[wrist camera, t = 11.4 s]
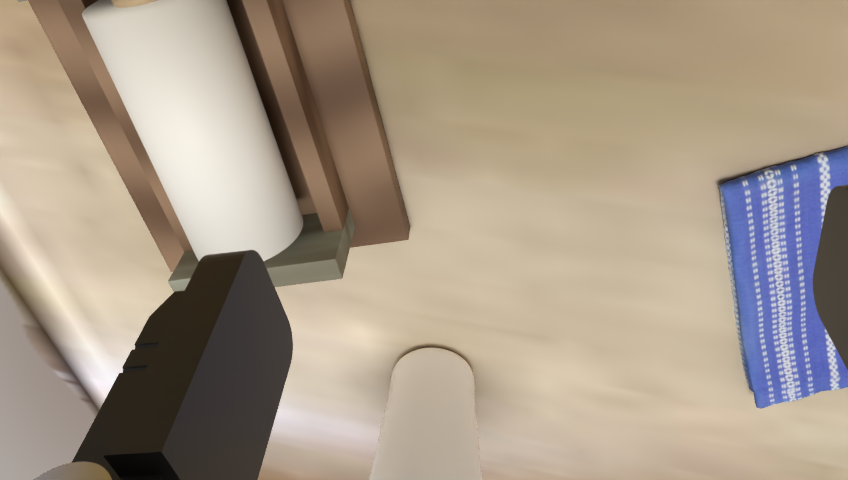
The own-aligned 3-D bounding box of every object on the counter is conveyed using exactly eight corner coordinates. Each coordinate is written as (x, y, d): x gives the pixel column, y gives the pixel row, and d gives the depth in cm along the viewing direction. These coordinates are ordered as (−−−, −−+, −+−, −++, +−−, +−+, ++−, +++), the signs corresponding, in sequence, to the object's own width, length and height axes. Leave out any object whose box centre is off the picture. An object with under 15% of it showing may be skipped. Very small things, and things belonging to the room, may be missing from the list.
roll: (113, -21, 31) (52, 21, 26) (231, -44, 30) (189, -5, 25) (216, 216, 38) (182, 280, 33) (314, 202, 37) (292, 267, 33)
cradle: (2, -84, 31) (-80, -52, 26) (307, -157, 28) (275, -135, 24) (178, 259, 41) (141, 323, 37) (410, 227, 39) (401, 292, 34)
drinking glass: (368, 390, 47) (330, 619, 35) (401, 321, 43) (372, 552, 31) (462, 418, 48) (456, 650, 36) (502, 353, 44) (512, 588, 32)
